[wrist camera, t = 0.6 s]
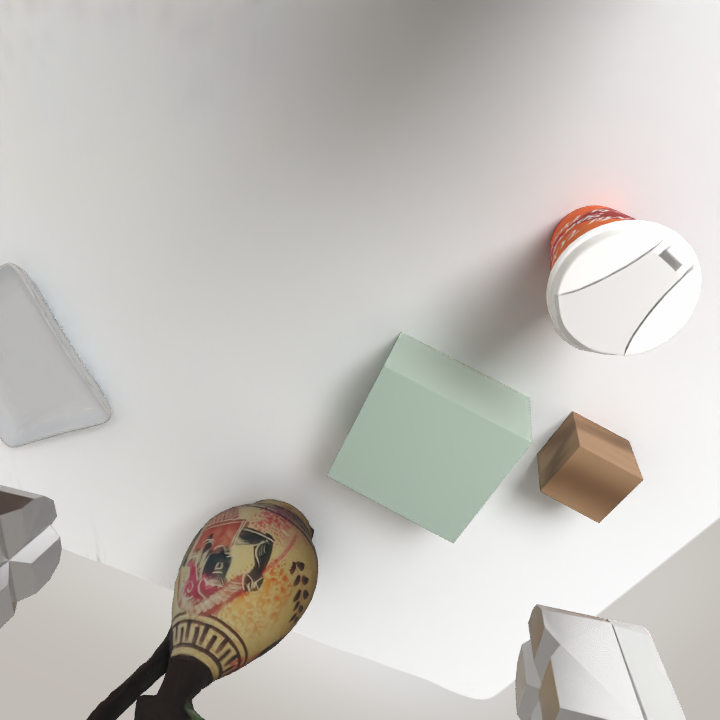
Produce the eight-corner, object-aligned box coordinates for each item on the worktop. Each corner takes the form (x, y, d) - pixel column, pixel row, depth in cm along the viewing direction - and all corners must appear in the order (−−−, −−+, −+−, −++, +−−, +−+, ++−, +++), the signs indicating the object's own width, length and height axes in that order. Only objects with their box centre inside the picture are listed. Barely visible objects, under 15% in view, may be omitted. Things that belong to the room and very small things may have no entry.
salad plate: (26, 438, 72) (5, 451, 69) (-67, 304, 66) (-95, 313, 63) (130, 408, 64) (112, 422, 61) (35, 252, 58) (9, 259, 55)
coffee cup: (593, 167, 39) (635, 191, 26) (668, 237, 40) (745, 295, 27) (513, 247, 43) (515, 303, 30) (582, 310, 44) (613, 390, 31)
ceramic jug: (322, 477, 60) (177, 752, 34) (343, 573, 66) (234, 868, 40) (201, 472, 65) (-6, 707, 39) (231, 561, 71) (69, 816, 45)
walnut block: (572, 410, 48) (580, 446, 43) (628, 440, 48) (643, 479, 43) (537, 453, 51) (540, 491, 46) (590, 481, 51) (599, 523, 46)
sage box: (401, 331, 49) (383, 365, 42) (529, 396, 49) (532, 442, 42) (349, 432, 56) (326, 475, 49) (460, 490, 56) (453, 543, 49)
